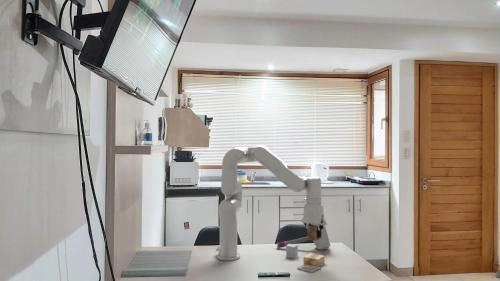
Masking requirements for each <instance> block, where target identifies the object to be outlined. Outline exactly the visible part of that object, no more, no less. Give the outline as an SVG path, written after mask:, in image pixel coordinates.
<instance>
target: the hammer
mask: <svg viewBox="0 0 500 281" xmlns="http://www.w3.org/2000/svg"><path fill="white" fill-rule="evenodd" d="M322 225H323V223H322ZM321 233H322V235H321V239H319V240H316V241H315V240H312V242H313V245H315V247H316V249H317V250H318V251H322V250H326V249H330V247H331V241H330V239H329V235H328V232H327V227H326V226H325V227H324V228H323V229H322V230H321ZM308 241H311V240H310V239H307V236H304V237H300V238H296V239H291V240H287V241H285V240H284V241H281V242H277V243H276V248H277V249H281V248H286V246H287V245H288V244H296V245H297V244H298V243H303V242H308Z"/></svg>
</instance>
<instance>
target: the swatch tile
mask: <svg viewBox="0 0 500 281" xmlns="http://www.w3.org/2000/svg"><path fill="white" fill-rule="evenodd" d="M321 268H322V267H320V266H319V267H316V266H312V265H308V264H306V265H304V264H303V265H301V266H299V267H297V270H299V271H303V272H307V273H309V274H310V273H311V274H312V273H315V272H317V271H319V270H321Z"/></svg>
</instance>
